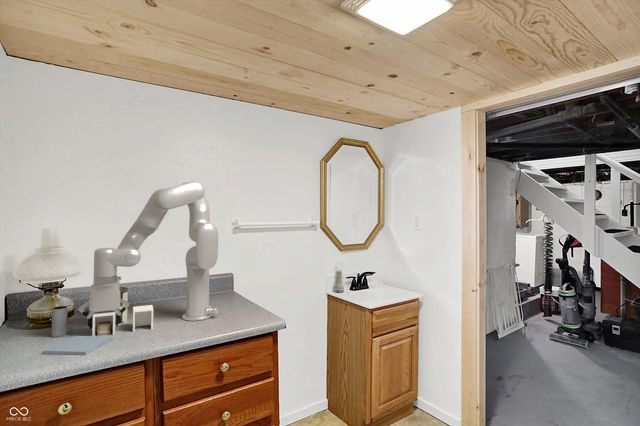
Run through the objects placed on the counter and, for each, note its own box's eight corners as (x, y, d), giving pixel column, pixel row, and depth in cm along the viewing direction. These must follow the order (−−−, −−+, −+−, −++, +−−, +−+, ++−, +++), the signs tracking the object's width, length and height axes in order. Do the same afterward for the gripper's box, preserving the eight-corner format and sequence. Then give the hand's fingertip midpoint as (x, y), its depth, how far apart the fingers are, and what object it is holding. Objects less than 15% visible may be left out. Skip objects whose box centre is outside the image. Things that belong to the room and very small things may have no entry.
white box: (94, 331, 132) (94, 311, 132) (115, 329, 136) (115, 308, 136) (92, 337, 126) (92, 315, 126) (114, 334, 129) (115, 313, 129)
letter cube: (98, 332, 132) (98, 322, 132) (110, 331, 134) (110, 320, 134) (97, 336, 128) (97, 325, 128) (110, 334, 130) (110, 323, 130)
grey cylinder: (54, 338, 125) (55, 309, 125) (49, 335, 127) (49, 307, 127) (69, 334, 129) (69, 307, 129) (63, 332, 131) (64, 305, 131)
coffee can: (111, 328, 136) (111, 292, 136) (92, 325, 140) (93, 290, 140) (133, 321, 146) (133, 287, 146) (115, 318, 149) (116, 285, 150)
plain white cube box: (132, 326, 139) (133, 306, 139) (152, 324, 142) (152, 304, 142) (132, 331, 133) (133, 311, 133) (152, 329, 136) (153, 308, 136)
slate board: (112, 339, 125) (112, 336, 125) (85, 354, 111) (85, 351, 111) (74, 338, 125) (74, 335, 125) (42, 353, 111) (42, 350, 111)
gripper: (131, 277, 138) (130, 321, 138) (78, 280, 130) (77, 327, 130) (131, 280, 132) (130, 326, 132) (76, 284, 123) (75, 333, 123)
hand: (104, 326), depth 131 cm, fingers open, 7 cm apart
